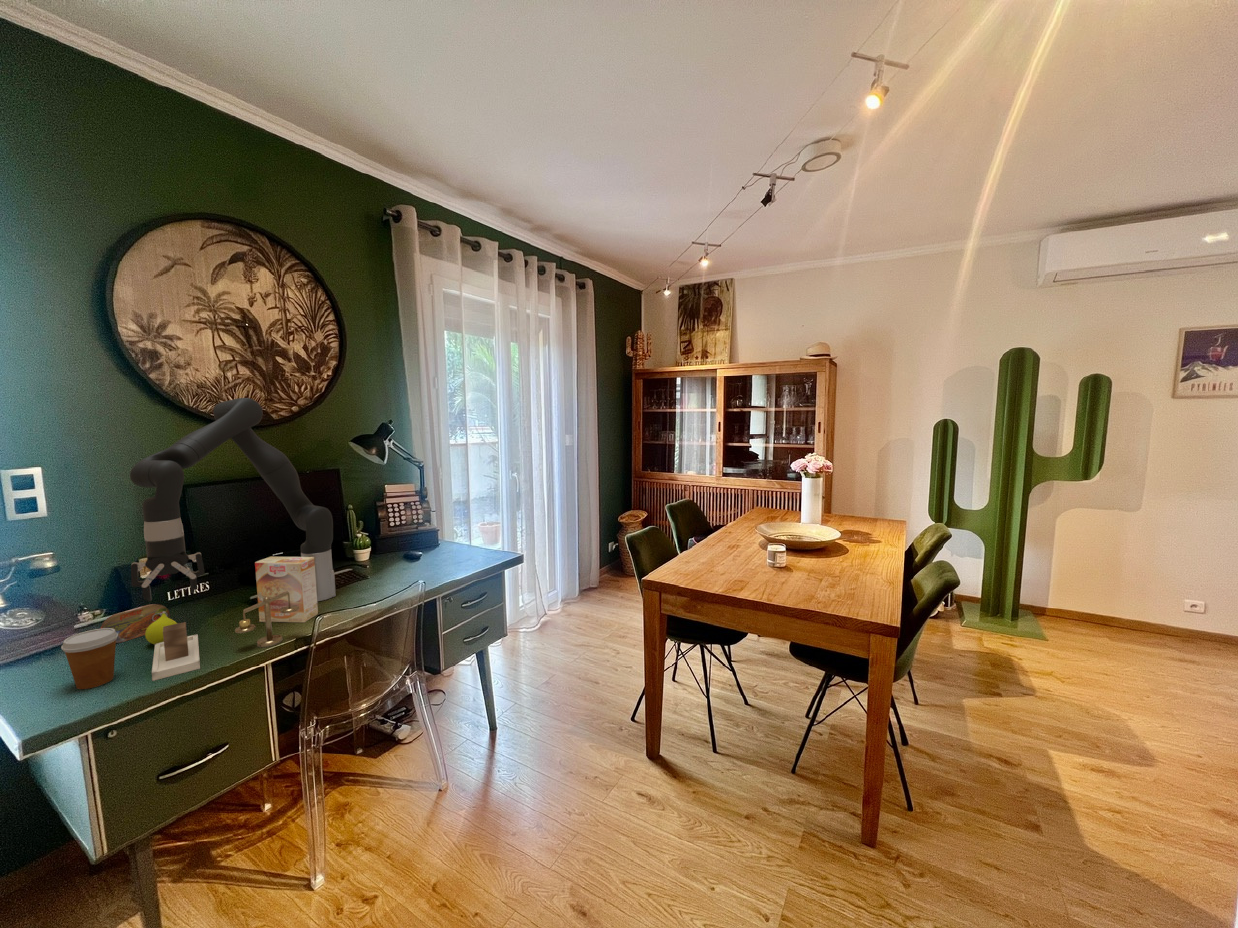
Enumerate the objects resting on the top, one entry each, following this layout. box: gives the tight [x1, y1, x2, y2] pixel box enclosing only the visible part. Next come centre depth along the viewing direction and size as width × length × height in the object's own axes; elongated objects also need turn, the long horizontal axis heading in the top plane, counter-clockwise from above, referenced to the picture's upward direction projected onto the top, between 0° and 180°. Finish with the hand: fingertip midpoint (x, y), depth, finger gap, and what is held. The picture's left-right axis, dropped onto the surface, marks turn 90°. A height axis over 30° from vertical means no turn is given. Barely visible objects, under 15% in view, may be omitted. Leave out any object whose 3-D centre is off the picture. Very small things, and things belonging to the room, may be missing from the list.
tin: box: [100, 603, 171, 644], centre depth 147 cm, size 15×3×8 cm, turn 153°
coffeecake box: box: [254, 555, 319, 623], centre depth 158 cm, size 15×7×20 cm, turn 87°
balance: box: [234, 591, 299, 649], centre depth 141 cm, size 15×6×14 cm, turn 131°
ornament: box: [144, 611, 178, 645], centre depth 141 cm, size 7×7×10 cm
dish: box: [151, 633, 201, 682], centre depth 133 cm, size 9×21×2 cm, turn 41°
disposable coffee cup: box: [60, 628, 118, 690], centre depth 121 cm, size 10×10×12 cm
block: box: [163, 621, 188, 661], centre depth 132 cm, size 4×4×8 cm
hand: (171, 595), depth 131 cm, fingers open, 8 cm apart
